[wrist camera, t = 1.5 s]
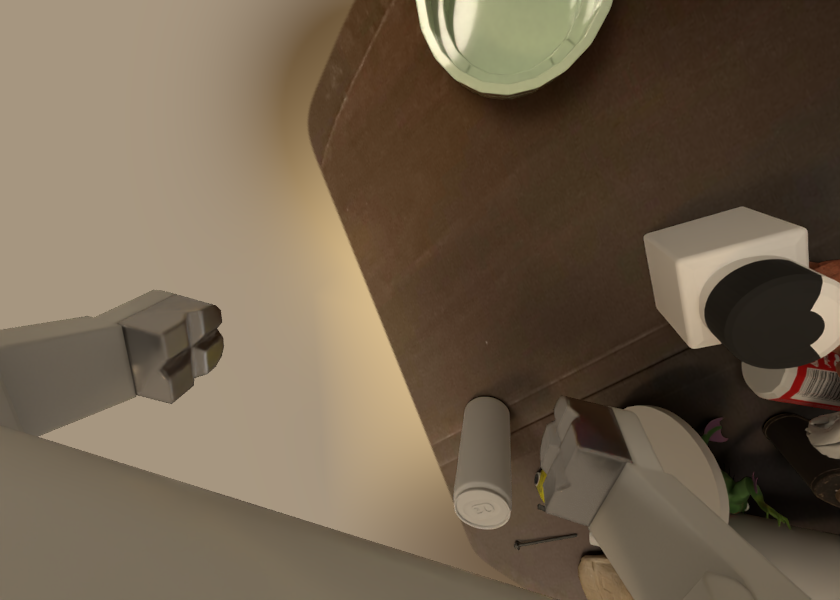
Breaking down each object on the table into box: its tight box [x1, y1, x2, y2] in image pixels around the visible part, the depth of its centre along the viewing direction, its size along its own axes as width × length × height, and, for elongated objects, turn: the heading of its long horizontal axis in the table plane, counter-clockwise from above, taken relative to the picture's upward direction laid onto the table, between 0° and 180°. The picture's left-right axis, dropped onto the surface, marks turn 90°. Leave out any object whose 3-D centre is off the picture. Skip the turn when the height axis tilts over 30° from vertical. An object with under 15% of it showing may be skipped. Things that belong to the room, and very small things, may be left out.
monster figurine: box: [623, 405, 791, 530], centre depth 35 cm, size 12×12×10 cm
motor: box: [589, 513, 840, 600], centre depth 33 cm, size 30×10×10 cm, turn 109°
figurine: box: [578, 555, 634, 600], centre depth 43 cm, size 13×7×20 cm
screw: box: [514, 534, 577, 550], centre depth 48 cm, size 8×1×1 cm
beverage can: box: [453, 397, 512, 529], centre depth 36 cm, size 5×5×12 cm
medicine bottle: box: [643, 207, 840, 369], centre depth 26 cm, size 7×7×12 cm
